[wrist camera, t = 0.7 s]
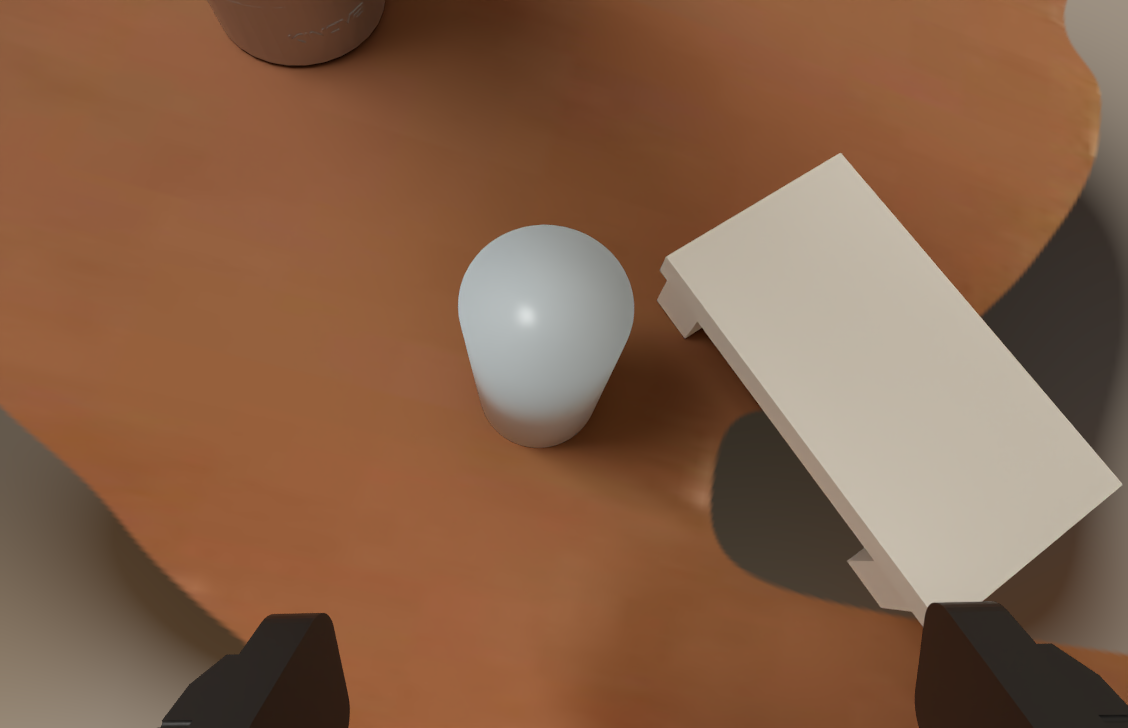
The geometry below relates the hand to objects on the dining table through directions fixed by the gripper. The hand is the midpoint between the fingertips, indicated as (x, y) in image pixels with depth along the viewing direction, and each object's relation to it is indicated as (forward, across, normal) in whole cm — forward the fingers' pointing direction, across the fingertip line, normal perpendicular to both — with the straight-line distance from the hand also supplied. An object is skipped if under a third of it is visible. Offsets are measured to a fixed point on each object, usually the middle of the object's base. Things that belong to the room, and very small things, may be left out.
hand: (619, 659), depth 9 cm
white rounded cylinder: (+22, +3, +4) cm, 23 cm away
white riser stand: (+24, -11, +6) cm, 27 cm away
